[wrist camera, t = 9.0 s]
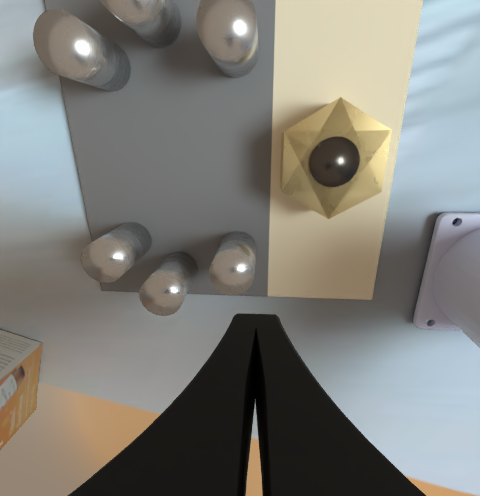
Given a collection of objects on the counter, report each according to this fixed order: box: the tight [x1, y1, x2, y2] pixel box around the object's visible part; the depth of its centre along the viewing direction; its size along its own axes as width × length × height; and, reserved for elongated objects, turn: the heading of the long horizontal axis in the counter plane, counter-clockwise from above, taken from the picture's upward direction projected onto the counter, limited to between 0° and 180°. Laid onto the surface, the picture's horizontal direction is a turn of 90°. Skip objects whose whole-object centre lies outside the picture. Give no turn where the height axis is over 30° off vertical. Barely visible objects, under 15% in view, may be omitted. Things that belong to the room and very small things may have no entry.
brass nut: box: [280, 97, 392, 219], centre depth 15 cm, size 5×6×3 cm
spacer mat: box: [44, 0, 423, 300], centre depth 17 cm, size 19×18×1 cm
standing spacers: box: [33, 0, 259, 316], centre depth 15 cm, size 9×16×4 cm, turn 1°
